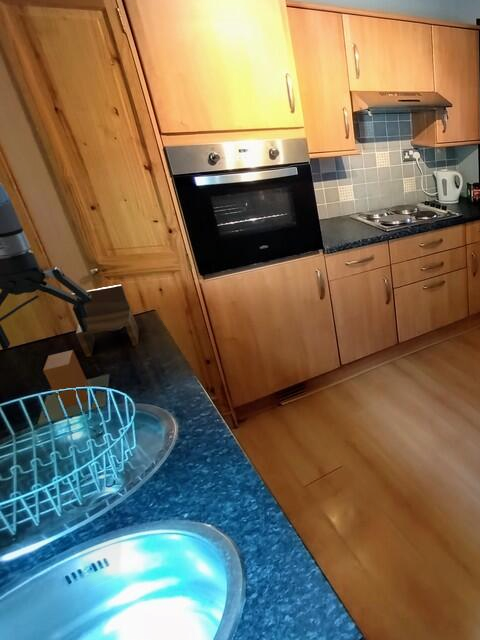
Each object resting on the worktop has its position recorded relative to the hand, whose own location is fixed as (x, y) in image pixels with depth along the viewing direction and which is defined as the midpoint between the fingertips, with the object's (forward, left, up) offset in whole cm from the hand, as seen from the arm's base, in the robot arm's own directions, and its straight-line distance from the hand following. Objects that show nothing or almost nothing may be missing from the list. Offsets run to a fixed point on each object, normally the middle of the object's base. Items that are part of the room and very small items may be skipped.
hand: (47, 338), depth 107 cm
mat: (0, 0, -18) cm, 18 cm away
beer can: (-41, +6, -18) cm, 45 cm away
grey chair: (-30, +6, -18) cm, 35 cm away
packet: (0, 0, -17) cm, 17 cm away
